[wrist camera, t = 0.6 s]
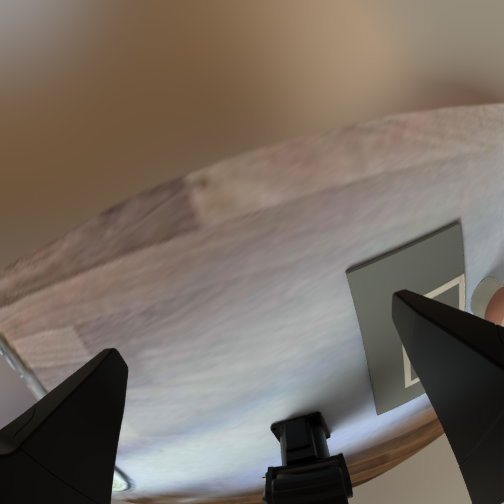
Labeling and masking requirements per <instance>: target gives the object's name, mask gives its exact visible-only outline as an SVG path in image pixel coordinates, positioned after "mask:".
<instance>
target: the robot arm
mask: <svg viewBox="0 0 504 504" xmlns="http://www.w3.org/2000/svg"><path fill="white" fill-rule="evenodd" d="M391 315H392V320H393V323H394V325H395V328H396V330H397V332H398V335H399V337H400V339H401V342H402V344H403V347H404V349H405V352H406V354H407V356H408V359H409V361H410V363H411V365H412V367H413V369H414V370H415V372H416V374H417V376H418V378H419V380H420V382H421V384H422V386H423V388H424V390H425V392H426V394H427V396H428V398H429V400H430V402H431V404H432V406H433V408H434V410H435V412H436V414H437V416H438V418H439V421H440V423H441V425H442V427H443V429H444V431H445V434H446V436H447V438H448V441H449V443H450V445H451V448H452V450H453V452H454V455H455V457H456V460H457V462H458V465H460V466H459V468H460V470H461V473H462V476H463V478H464V481H465V484H466V486H467V489H468V492H469V495H470V498H471V501H472V504H501V503H503V502H504V327H503V326H501V325H498V324H496V325H495V323H493V322H490V321H488V320H485V319H483V318H480V317H478V316H475V315H473V314H470V313H467V312H465V311H462V310H460V309H457V308H454V307H452V306H449V305H447V304H444V303H441V302H439V301H436V300H433V299H431V298H428V297H426V296H423V295H420V294H418V293H415V292H412V291H409V290H407V289H402V290H399V291H396V292H394V293H393V295H392V313H391ZM127 380H128V366H127V364H126V363H125V361H124V359H123V358H122V356H121V355H120V353H119V352H118V350H117V349H115V348H108V349H104V350H103V351H102V352H100V353H99V354H98V355H96V356H95V357H94V358H93V359H91V360H90V361H89V362H87V363H86V364H85V365H84V366H82V367H81V368H80V369H79V370H77V371H76V372H75V373H73V374H72V375H71V376H70V377H68V378H67V379H66V380H65V381H63V382H62V383H61V384H59V385H58V386H57V387H56V388H54V389H53V390H52V391H51V392H49V393H48V394H47V395H46V396H44V397H43V398H42V399H41V400H39V401H38V402H37V403H36V404H34V405H33V406H32V407H31V408H29V409H28V410H27V411H25V412H24V413H23V414H22V415H20V416H19V417H17V418H16V419H15V420H13V421H12V422H11V423H9V424H8V425H6V426H5V427H3V428H2V429H1V430H0V504H111V494H112V485H113V476H114V468H115V461H116V454H117V448H118V441H119V435H120V430H121V424H122V419H123V414H124V407H125V398H126V388H127ZM270 428H271V431H272V432H273V434H274V435H275V437H276V438H277V439H278V441H279V442H280V445H281V458H282V466H278V467H268V472H267V473H266V485H265V489H264V493H263V497H262V499H263V502H265V503H266V504H348V498H352V497H353V492H352V485H351V480H350V476H349V473H348V469H347V466H346V463H345V460H344V457H343V453H340V454H338V455H335V456H331V457H330V454H329V450H328V445H327V441H326V439H328V438H330V437H331V436H330V433H329V430H328V428H327V426H326V423H325V421H324V419H323V416H322V414H321V413H320V412H316V413H313V414H310V415H307V416H303V417H300V418H296V419H293V420H289V421H286V422H282V423H278V424H274V425H271V427H270Z"/></svg>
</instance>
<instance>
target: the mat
mask: <svg viewBox="0 0 504 504" xmlns="http://www.w3.org/2000/svg"><path fill="white" fill-rule="evenodd" d="M345 272H346V276H347V279H348V283H349V286H350V290H351V294H352V298H353V302H354V305H355V309H356V313H357V317H358V322H359V326H360V330H361V334H362V339H363V343H364V348H365V353H366V357H367V362H368V367H369V372H370V377H371V383H372V388H373V394H374V400H375V406H376V412H377V415H380V414H383V413H385V412H387V411H389V410H392V409H394V408H396V407H398V406H400V405H402V404H404V403H407V402H409V401H411V400H413V399H415V398H417V397H418V396H420V395H422V394H424V393H426V392H425V390H424V388H423V386H422V384H421V382H420V380H419V378H418V376H417V374H416V372H415V370H414V369H413V367H412V365H411V363H410V361H409V359H408V356H407V354H406V352H405V349H404V347H403V344H402V342H401V339H400V337H399V335H398V332H397V330H396V328H395V325H394V323H393V320H392V315H391V313H392V295H393V293H394V292H396V291H399V290H402V289H407V290H409V291H412V292H415V293H418V294H420V295H423V296H426V297H428V298H431V299H433V300H436V301H439V302H441V303H444V304H447V305H449V306H452V307H454V308H457V309H460V310H462V311H465V273H464V255H463V243H462V233H461V224H460V223H459V222H456V223H453V224H451V225H449V226H447V227H445V228H443V229H441V230H439V231H437V232H435V233H433V234H430V235H428V236H426V237H424V238H422V239H420V240H417V241H415V242H413V243H411V244H409V245H406V246H404V247H402V248H400V249H397V250H395V251H393V252H390V253H388V254H386V255H384V256H381V257H379V258H377V259H374V260H372V261H370V262H367V263H365V264H362V265H360V266H358V267H355V268H353V269H350V270H348V271H345Z"/></svg>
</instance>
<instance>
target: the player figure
mask: <svg viewBox="0 0 504 504" xmlns="http://www.w3.org/2000/svg"><path fill="white" fill-rule="evenodd" d="M470 307H471V311H472V312H473V313H474V314H475V315H476V316H478V317H480V318H483V319H485V320H488V321H490V322H493V323H495V325H496V324H498V325H501V326H503V327H504V285H503V284H502V283H500V282H499V281H497V280H496V279H494V278H492V277H487V278H485V279H483V280H482V281H481V282H480V283H479V284H478V286H477V287H476V289H475V291H474V293H473V295H472V298H471V304H470Z"/></svg>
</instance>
